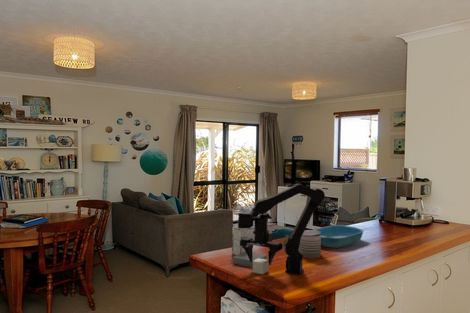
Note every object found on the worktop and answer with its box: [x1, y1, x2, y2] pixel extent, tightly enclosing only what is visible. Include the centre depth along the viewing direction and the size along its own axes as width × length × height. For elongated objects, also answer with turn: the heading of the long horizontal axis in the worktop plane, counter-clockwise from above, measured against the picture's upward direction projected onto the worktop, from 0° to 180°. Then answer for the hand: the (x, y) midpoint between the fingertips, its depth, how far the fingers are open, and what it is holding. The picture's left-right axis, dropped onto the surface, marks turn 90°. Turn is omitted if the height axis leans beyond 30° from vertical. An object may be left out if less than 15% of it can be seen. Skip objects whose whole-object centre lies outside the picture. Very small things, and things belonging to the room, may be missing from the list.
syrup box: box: [231, 225, 249, 256], centre depth 184 cm, size 6×6×14 cm
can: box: [298, 229, 322, 259], centre depth 184 cm, size 11×11×12 cm
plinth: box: [232, 251, 268, 268], centre depth 170 cm, size 12×12×3 cm
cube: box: [252, 258, 269, 275], centre depth 158 cm, size 5×5×5 cm
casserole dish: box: [314, 224, 364, 249], centre depth 211 cm, size 37×22×7 cm, turn 132°
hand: (260, 263), depth 158 cm, fingers open, 9 cm apart
